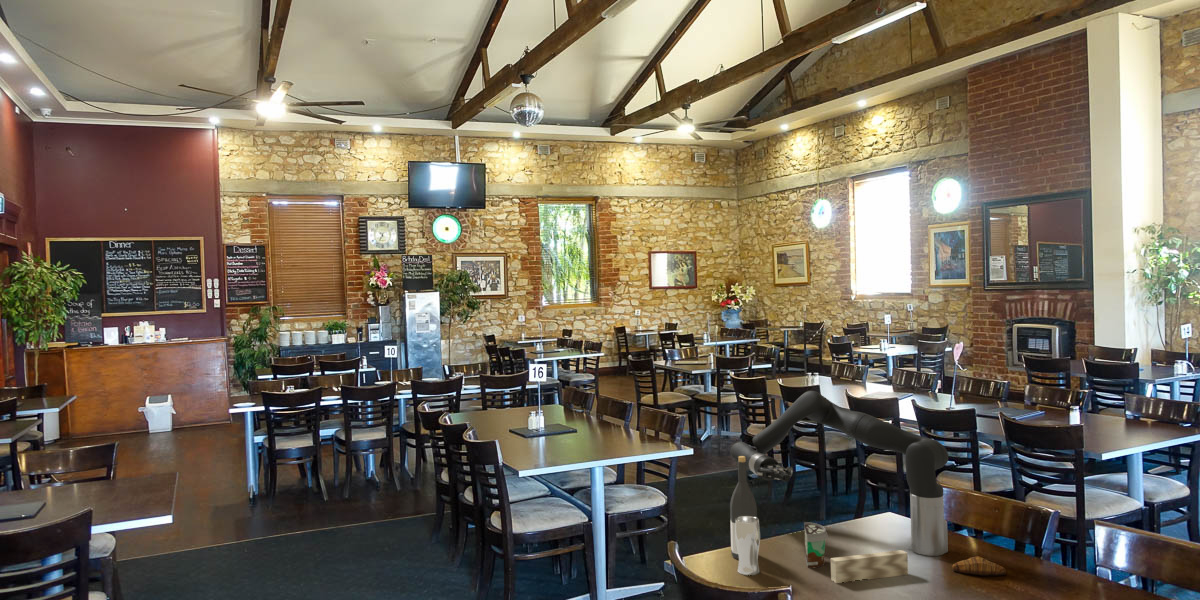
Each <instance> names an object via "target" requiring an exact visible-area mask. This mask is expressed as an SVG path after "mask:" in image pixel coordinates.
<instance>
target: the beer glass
mask: <svg viewBox="0 0 1200 600" xmlns="http://www.w3.org/2000/svg"><path fill="white" fill-rule="evenodd" d="M735 539H736V545H737V550H738V555H739V559H738V566H737V572H738V574H740V575H743V576H748V575H749V576H750V575H752V576H757V575H758V574H760V567H759V560H758V559H759V549H760V541H761V530H760V519H759V518H758V517H757V518H756V517H753V516H739V517H737V518H736V522H735Z"/></svg>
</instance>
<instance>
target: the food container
mask: <svg viewBox="0 0 1200 600" xmlns="http://www.w3.org/2000/svg"><path fill="white" fill-rule="evenodd" d="M803 529H804V552H805V553H804V555H805V556H804V557H805V561H806V566H807V568H808V569H813V567H816V568H820V567H819V566H821V567H822V566H824V565H825V554H826V553H825V551H826V550H825V549H826V540H827V538H828V532H827V529H826V527H824V526H823V525H821V524H818V523H814V522H807V521H804V522H803ZM823 564H824V565H823Z"/></svg>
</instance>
